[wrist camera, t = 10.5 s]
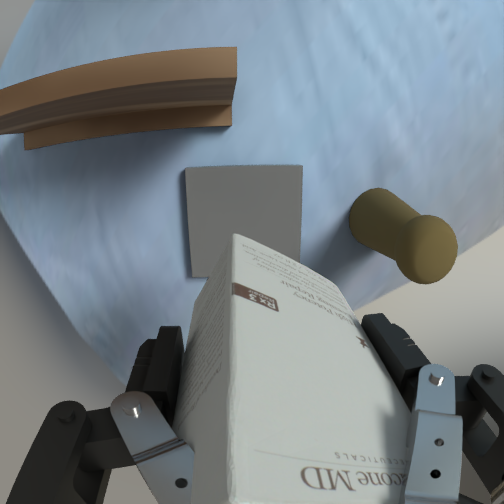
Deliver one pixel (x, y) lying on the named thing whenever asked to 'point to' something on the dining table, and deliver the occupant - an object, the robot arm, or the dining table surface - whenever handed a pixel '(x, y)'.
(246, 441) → the skincare box
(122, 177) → the dining table surface
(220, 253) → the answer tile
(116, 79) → the walnut screen
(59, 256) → the dining table surface
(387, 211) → the olive stepped cylinder
